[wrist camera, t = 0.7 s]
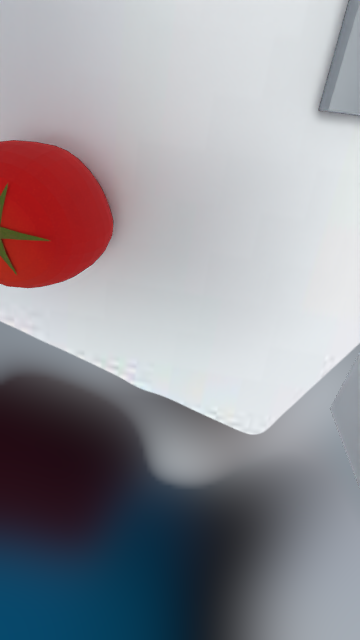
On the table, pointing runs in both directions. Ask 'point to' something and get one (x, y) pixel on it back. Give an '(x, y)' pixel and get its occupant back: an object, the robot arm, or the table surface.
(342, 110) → the socket block
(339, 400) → the robot arm
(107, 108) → the table surface
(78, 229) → the tomato
